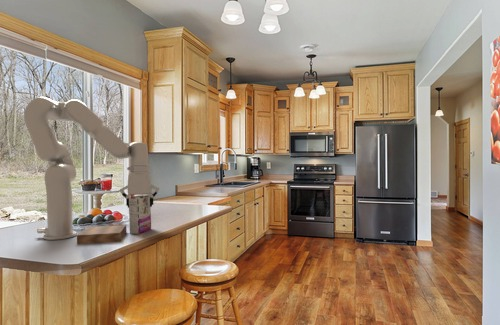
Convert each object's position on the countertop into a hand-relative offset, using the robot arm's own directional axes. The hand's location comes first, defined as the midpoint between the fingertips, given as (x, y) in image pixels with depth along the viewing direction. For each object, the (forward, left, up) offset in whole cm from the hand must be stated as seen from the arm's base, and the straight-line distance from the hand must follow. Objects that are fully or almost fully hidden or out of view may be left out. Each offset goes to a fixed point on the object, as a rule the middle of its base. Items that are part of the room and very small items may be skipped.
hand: (140, 206), depth 152 cm
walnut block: (-14, -9, -12) cm, 20 cm away
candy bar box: (0, 0, -11) cm, 11 cm away
